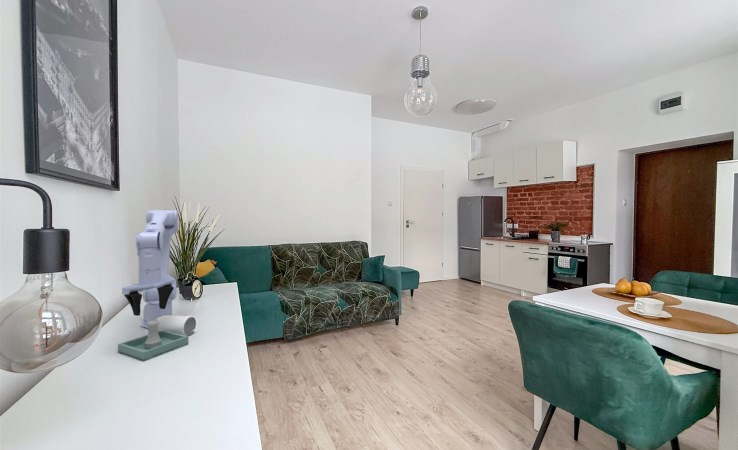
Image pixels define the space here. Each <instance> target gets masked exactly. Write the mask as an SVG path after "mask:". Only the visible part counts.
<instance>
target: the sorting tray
mask: <svg viewBox="0 0 738 450" xmlns="http://www.w3.org/2000/svg"><path fill="white" fill-rule="evenodd" d="M158 335H159V337H160V339H161V340H162V341H161V343H162V344H161V345H160V346H157V347H155V348H152V349H146V348H145V347H144V346H145V344H144V343H145V341H146V339H147V337H148V334H146V335H143V336H140V337H136V338H133V339H129V340H127V341H125V342H124V341H123V342H120V343H117V353H119V354H121V355H123V356H127V357H130V358H133V359H136V360H139V361H142V362H146V361H148V360H151V359H154V358H156V357H159V356H161V355H164V354H168V353H169V352H172V351H174V350H178V349H179V348H182V347H184V346H188V345H189V335H188V336H185V335H181V334H177V333H173V332H169V331H165V330H162V331H158Z"/></svg>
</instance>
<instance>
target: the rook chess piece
mask: <svg viewBox="0 0 738 450" xmlns="http://www.w3.org/2000/svg"><path fill="white" fill-rule="evenodd" d="M158 324H159V322H158V320H157V319H155V321H153V320H149V321H148V323H147V326H148V328H146V329H147V335H148V337H147V339H146V341H145V343H144V344H145V346H144V347H145V348H146V349H152V348H155V347H157V346H160V345H161V344H162V343H161V341H162V340H161V339H160V337H159V335H158Z"/></svg>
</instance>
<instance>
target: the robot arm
mask: <svg viewBox="0 0 738 450" xmlns="http://www.w3.org/2000/svg"><path fill="white" fill-rule="evenodd" d="M145 216H146V217H145V219H146V224H145V227H144V228H143V230H142V231H141V232H140V233H137V234H136V237H135V247H136V254H137V256H138V283H135V284H132V285H127V286H123V287H122V288H121V294H122V295H123V296H124V298H126V300H127V302H128V304H129V305H130V307H131V310H132V314H133V316H137V317H138V316H141V303H142V299H143V301H144V302H145V305H144V307H143V310H142V311H143V313H142V316H143V317H142V321H143V323H142V324H140V327H142V328H145V329H148V326H147V323H148V321H149V320H153V321H154V320H155V319H156V318H157V317H161V316H166V315H167V316H173V301H174V300H175V299H176V298H177V291H178V290H177V289H178V288H177V287H178V286H177V280H176V278H174V277H173V276H171V275H169V269H170V254H171V253H170V252H171V251H170V250H171V239H172V236H173V235H174V234H176V233H177V232H178V230H179V212H178V210H176V209H174V210H169V209H168V210H166V209H165V210H164V209H163V210H162V209H161V210H160V209H148V210H147V211H146V215H145ZM140 292H142V294H141V293H140Z"/></svg>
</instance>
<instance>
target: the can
mask: <svg viewBox="0 0 738 450" xmlns="http://www.w3.org/2000/svg"><path fill="white" fill-rule="evenodd" d="M156 319H157V320H158V322H159V324H158V331H162V330H165V331H169V332H173V333H177V334H181V335H185V336H188V337H189V336H190V335H192V334H193V332H194V331H195V330H196V325H197V321H196V318H195V317H194V316H192V315H172V316H167V315H166V316H161V317H157V318H156ZM154 321H155V320H154Z"/></svg>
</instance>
